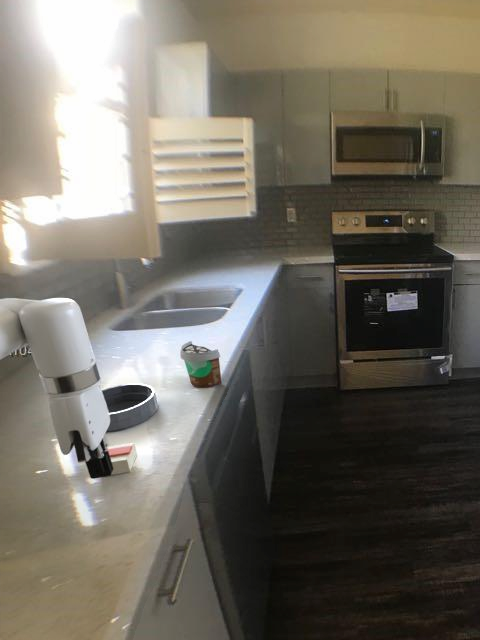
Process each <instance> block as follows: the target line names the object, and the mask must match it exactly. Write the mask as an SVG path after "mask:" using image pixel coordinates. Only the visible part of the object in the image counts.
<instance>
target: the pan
mask: <svg viewBox="0 0 480 640" xmlns="http://www.w3.org/2000/svg"><path fill="white" fill-rule="evenodd" d="M101 390H102V393H103V396H104V398H105V401H106V404H107V408H108V411H109V415H110V424H109V427H108V429H107V431H106V432H114V431H115V432H116V431H121V430H126V429H128V428H132V427H134V426H137V425H139V424H141V423H144V422H145V421H147V420H148V419H150V418H151V417H152V416H153V415H154V414H155V413H157V412H158V408H159V402H158V399H157V395H156V391H155V389H154V387H153V386H151V385H149V384H145V383H126V384H119V385H116V386H111V387H108V388H104V389H101Z"/></svg>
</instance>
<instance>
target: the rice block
mask: <svg viewBox="0 0 480 640" xmlns="http://www.w3.org/2000/svg"><path fill="white" fill-rule="evenodd" d="M107 446H108V449H107V450H105V451H108V452H109V455H110V458H111V461H112V465H113V468H114V469H113V471H112V474H111V475H110V476H114V475H120V474H125V473H126V474H127V473H131V472H132V468H133V467H134V464H135V461H136V458H137V455H138V452H137V449H136V445H135V442H127V443H121V444H115V445H107Z"/></svg>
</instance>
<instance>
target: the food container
mask: <svg viewBox="0 0 480 640" xmlns="http://www.w3.org/2000/svg"><path fill="white" fill-rule="evenodd" d="M179 356H180V359H181V360H183V361H184V365H185V368H186V371H187V374H188V377H189V381H190V385H191V384H192V385H191V386H192V387H194V388H199V389H205V388H206V389H207V388H213V387H217V386H220V385H222V384H223V383H222V374H221V366H220V365H221V364H220V363H221V362H220V358H221V354H220V352H219V349H218V348H217V349H214V350H212V349H210V348H207V347H205V346H199V345H196V344H193V341H192V340H190V341H187V342H185V343H184V344H183V345H182V346H181V347H180V353H179Z"/></svg>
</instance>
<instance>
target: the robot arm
mask: <svg viewBox="0 0 480 640" xmlns="http://www.w3.org/2000/svg"><path fill="white" fill-rule="evenodd" d="M91 343H92V342H91V340H90V336H89V333H88V330H87V325H86V322H85V319H84V316H83V312H82V309H81V306H80V305H79V304H78V303H77V301H75V300H73V299H71V298H68V297H67V298H66V297H55V298H54V297H53V298H47V299H41V300H37V299H25V298H16V297H6V298H0V361H1V360H2V359H4V358H5V357H7V356H9V355H11V354H12V353H14V352H16V351H18V350H20V349H23V348H25V347H27V346H28V347H29V350H30V353H31V356H32V359H33V361H34V364H35V367H36V370H37V373H38V376H39V379H40V381H41V384H42V388H43V391H44V393H45V395H46V396H48V403H49V410H50V417H51V422H52V425H53V428H54V432H55V436H56V439H57V442H58V446H59V449H60V452H61V454H63V455H64V456H67V455H69V454H70V453H71V452H72V451H73V448H74V450H75V455H76V459H77V463H79V464H81V463H85V465H86V469H87V472H88V475H89V477H90V479H99V478H104V477H110V476H112V475H111V474H112V471H113V469H114V468H113V465H112V461H111V458H110V455H109V452H108V451H105V450H107V449H108V446H109V445H108V442H107V438H106V433H107V432H108V431H107V429H108V427H109V424H110V415H109V411H108V408H107V404H106V401H105V398H104V396H103V393H102V390H103V389H102V388H101V386H100V385H101V383H102V377H101V373H100V371H99V368H98V367H99V366H98V364H97V361H96V357H95V353H94V351H93V347H92V344H91Z"/></svg>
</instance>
